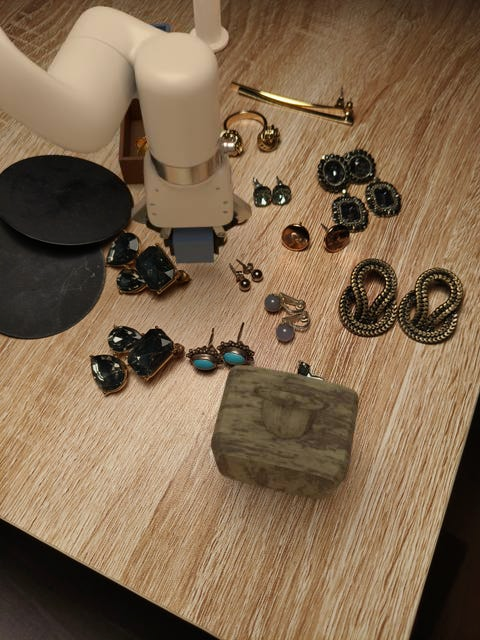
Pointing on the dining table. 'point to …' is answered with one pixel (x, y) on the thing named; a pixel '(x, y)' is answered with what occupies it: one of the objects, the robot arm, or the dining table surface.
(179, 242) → the blue block
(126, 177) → the brown bin
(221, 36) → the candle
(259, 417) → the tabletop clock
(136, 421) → the dining table surface
